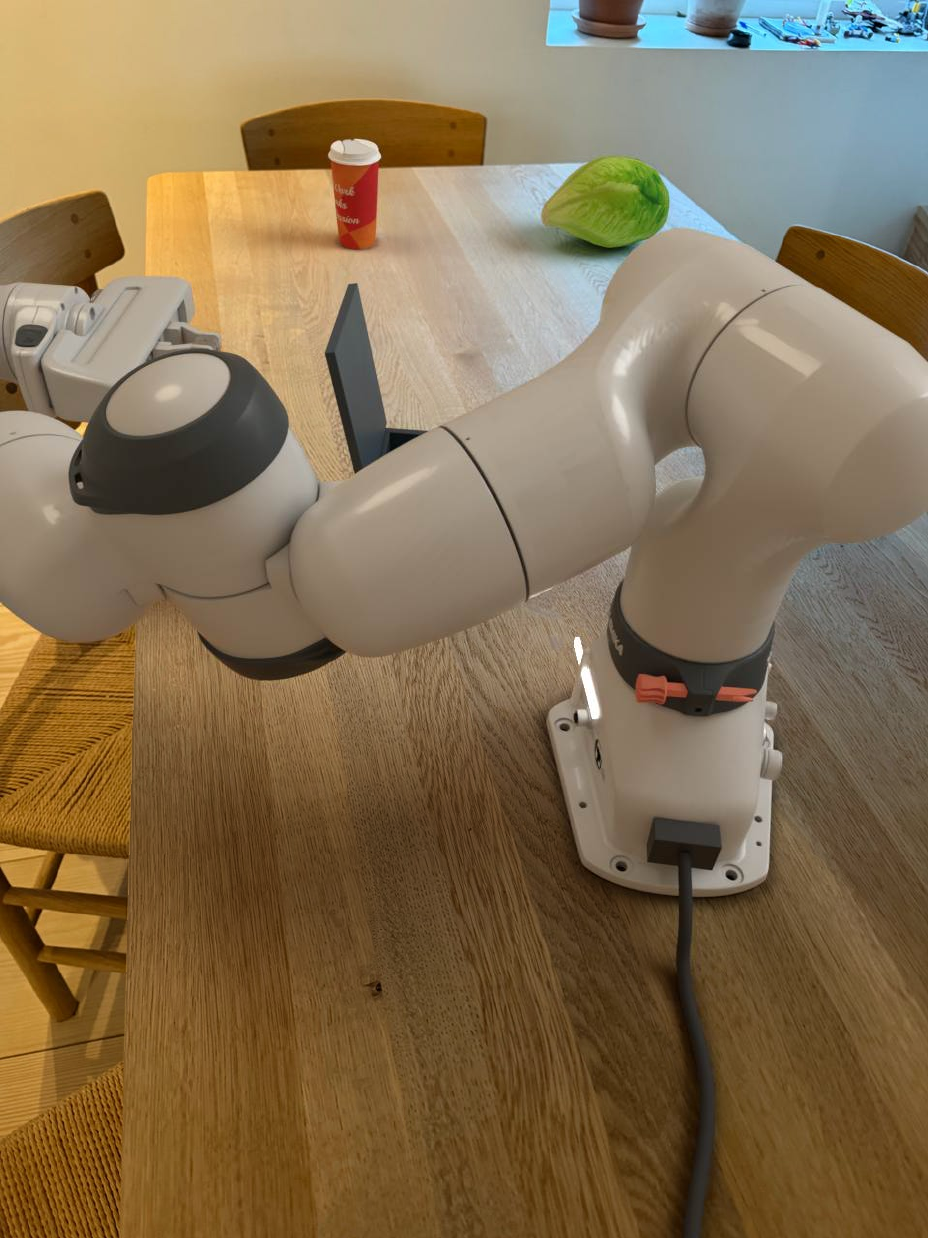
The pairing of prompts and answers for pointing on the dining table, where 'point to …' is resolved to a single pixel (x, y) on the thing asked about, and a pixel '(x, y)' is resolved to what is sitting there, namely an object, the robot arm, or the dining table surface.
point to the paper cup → (355, 191)
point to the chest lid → (356, 382)
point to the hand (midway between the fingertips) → (217, 349)
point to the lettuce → (610, 202)
